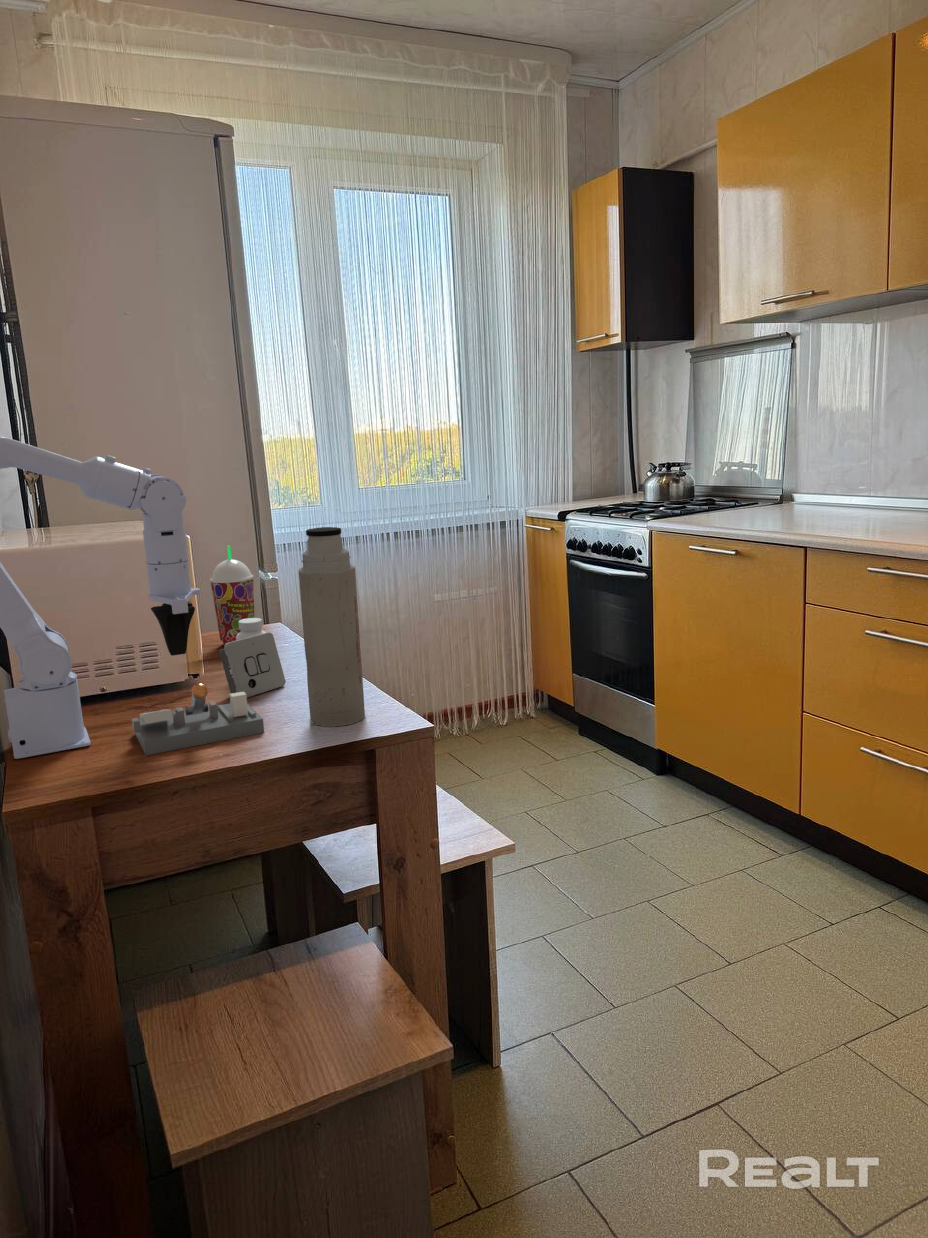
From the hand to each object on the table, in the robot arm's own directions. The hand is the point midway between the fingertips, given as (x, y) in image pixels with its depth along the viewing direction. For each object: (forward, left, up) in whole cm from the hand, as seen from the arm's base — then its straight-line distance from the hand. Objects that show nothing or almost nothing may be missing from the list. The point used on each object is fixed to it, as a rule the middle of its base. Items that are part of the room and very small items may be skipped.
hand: (177, 653), depth 127 cm
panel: (+1, -7, -10) cm, 12 cm away
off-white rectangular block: (+6, -9, -8) cm, 13 cm away
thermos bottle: (+20, -12, -11) cm, 25 cm away
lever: (+1, -7, -7) cm, 10 cm away
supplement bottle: (+16, +19, -11) cm, 27 cm away
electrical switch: (+13, +9, -11) cm, 19 cm away
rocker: (-5, -7, -7) cm, 11 cm away
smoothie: (+19, +43, -11) cm, 49 cm away
